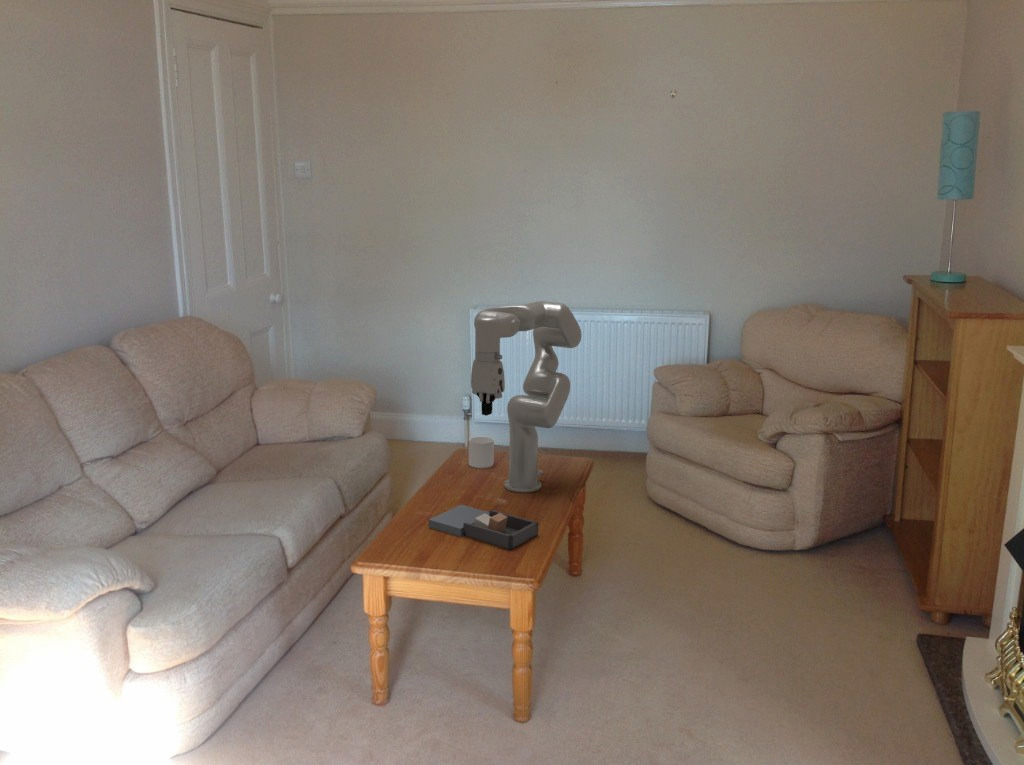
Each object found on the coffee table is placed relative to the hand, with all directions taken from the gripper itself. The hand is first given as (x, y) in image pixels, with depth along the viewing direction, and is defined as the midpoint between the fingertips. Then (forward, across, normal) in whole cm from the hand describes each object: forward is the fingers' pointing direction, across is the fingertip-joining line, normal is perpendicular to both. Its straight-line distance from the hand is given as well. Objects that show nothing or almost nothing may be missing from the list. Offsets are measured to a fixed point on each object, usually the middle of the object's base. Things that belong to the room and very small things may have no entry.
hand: (486, 414), depth 298 cm
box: (+31, -17, +16) cm, 38 cm away
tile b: (+27, -14, +16) cm, 35 cm away
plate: (+31, -2, +16) cm, 35 cm away
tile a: (+30, -11, +16) cm, 35 cm away
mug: (+32, +28, -36) cm, 55 cm away
